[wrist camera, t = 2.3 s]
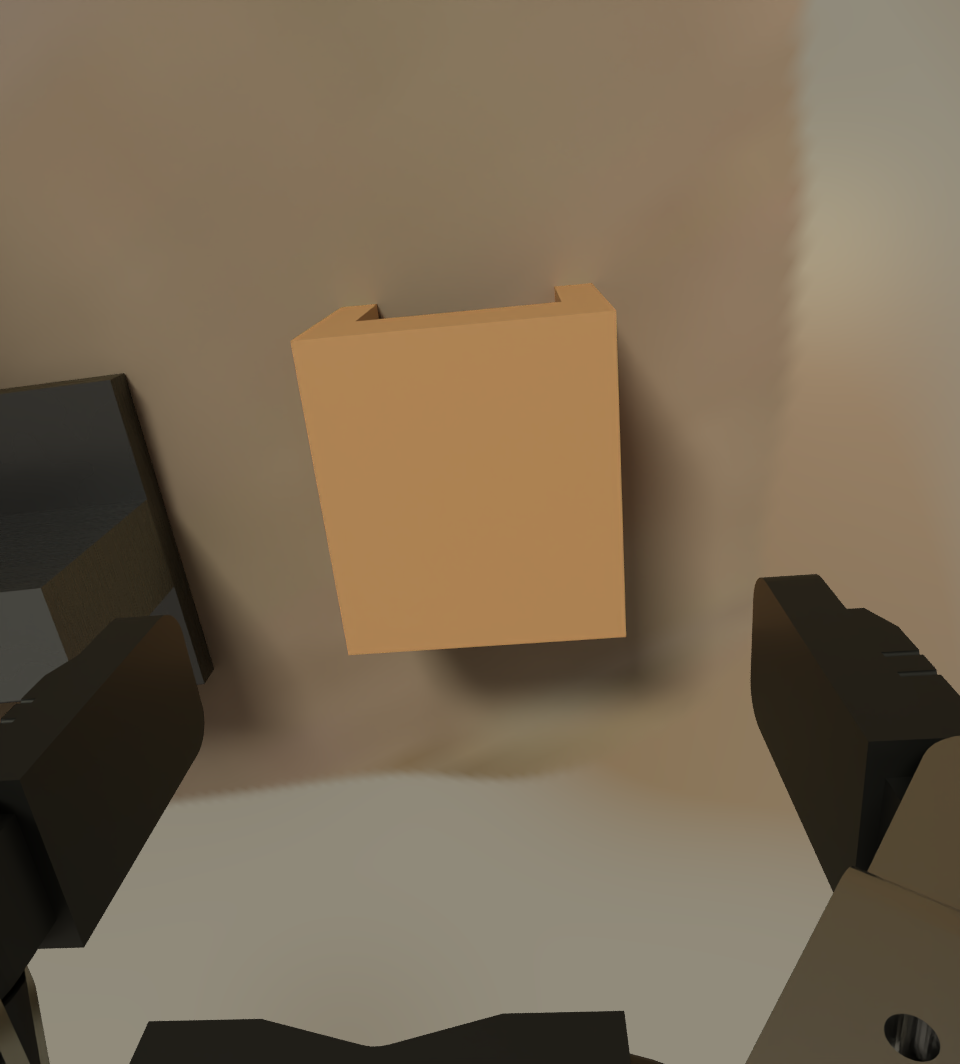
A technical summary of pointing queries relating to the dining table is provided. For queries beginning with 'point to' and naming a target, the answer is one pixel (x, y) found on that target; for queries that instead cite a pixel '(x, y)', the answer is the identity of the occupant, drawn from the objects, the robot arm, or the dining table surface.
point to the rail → (89, 467)
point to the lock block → (469, 472)
